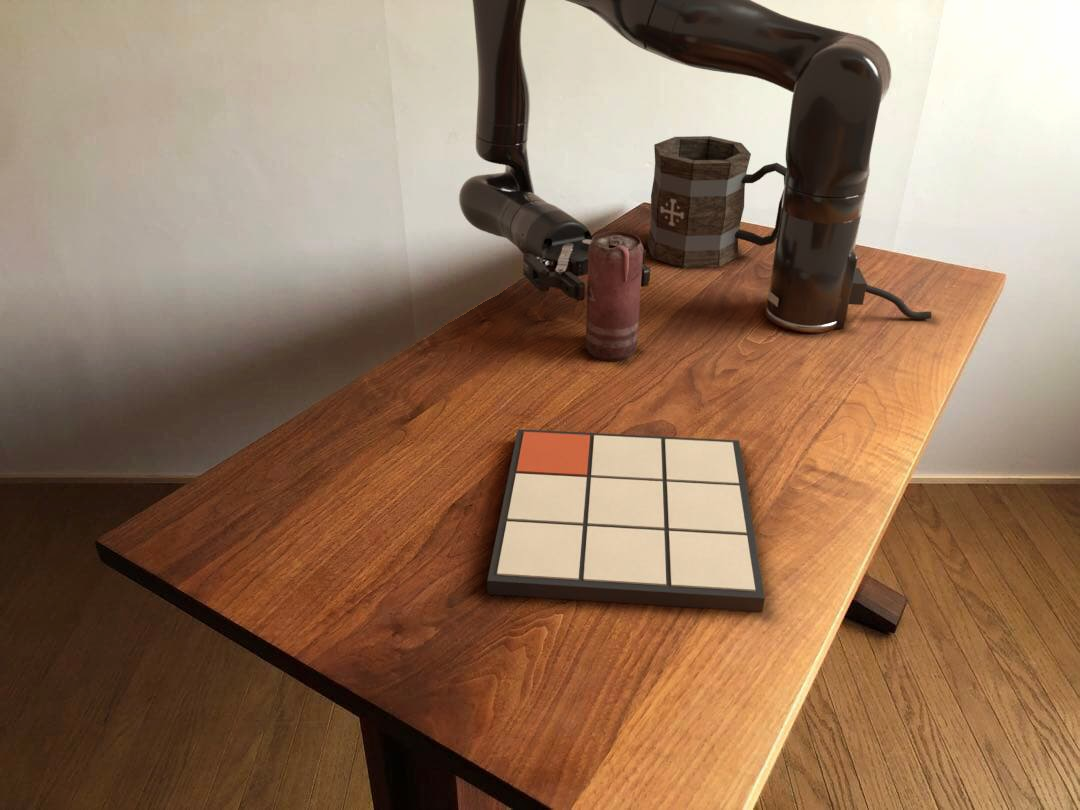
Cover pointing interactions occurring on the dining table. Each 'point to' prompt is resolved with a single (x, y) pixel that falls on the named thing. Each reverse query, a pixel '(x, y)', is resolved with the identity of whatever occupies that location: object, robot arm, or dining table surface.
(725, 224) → the mug
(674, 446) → the board
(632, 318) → the can
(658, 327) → the dining table surface
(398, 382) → the dining table surface
